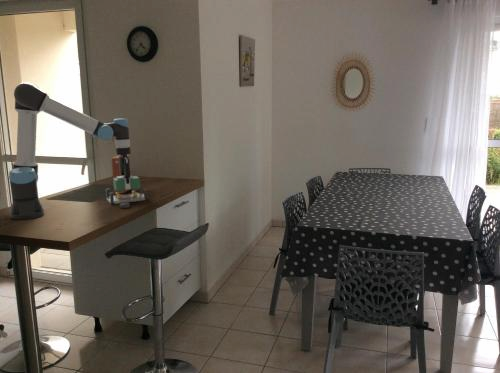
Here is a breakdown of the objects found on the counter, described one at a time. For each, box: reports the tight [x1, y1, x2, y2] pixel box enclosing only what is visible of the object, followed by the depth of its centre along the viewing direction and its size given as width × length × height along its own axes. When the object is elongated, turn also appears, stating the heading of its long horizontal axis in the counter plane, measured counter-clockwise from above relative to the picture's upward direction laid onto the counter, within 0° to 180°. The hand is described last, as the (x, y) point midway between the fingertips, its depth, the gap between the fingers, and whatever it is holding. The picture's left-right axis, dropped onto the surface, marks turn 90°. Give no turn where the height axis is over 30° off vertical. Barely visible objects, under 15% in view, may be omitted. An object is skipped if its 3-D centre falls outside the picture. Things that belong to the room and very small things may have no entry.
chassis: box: [105, 184, 149, 205], centre depth 257 cm, size 20×13×6 cm, turn 118°
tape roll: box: [119, 202, 131, 210], centre depth 241 cm, size 5×5×2 cm
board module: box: [112, 175, 141, 191], centre depth 256 cm, size 13×7×7 cm, turn 117°
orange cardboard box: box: [111, 154, 131, 194], centre depth 278 cm, size 21×7×15 cm
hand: (126, 187), depth 257 cm, fingers closed on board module, 7 cm apart
